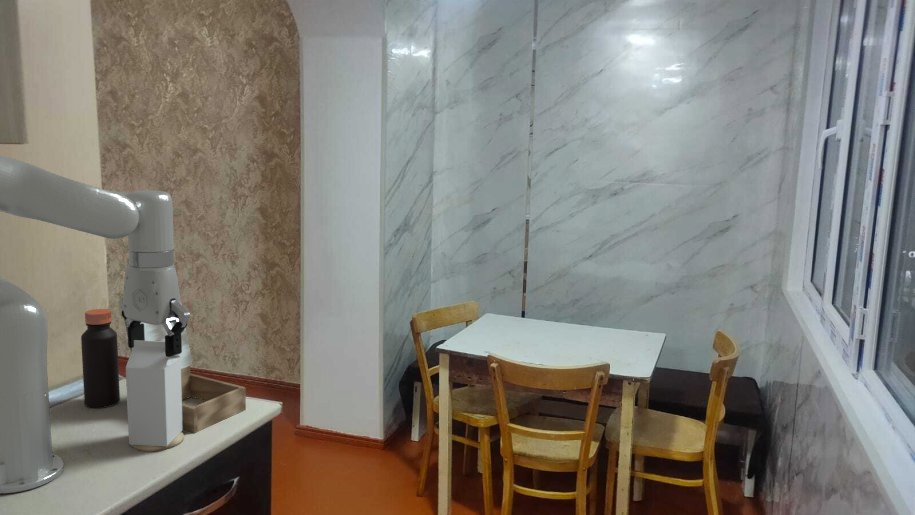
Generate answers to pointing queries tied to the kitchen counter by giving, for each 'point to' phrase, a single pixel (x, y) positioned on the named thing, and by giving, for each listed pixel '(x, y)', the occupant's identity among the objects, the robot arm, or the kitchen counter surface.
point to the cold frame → (200, 388)
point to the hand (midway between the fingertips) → (154, 350)
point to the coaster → (159, 448)
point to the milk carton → (153, 395)
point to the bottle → (100, 360)
